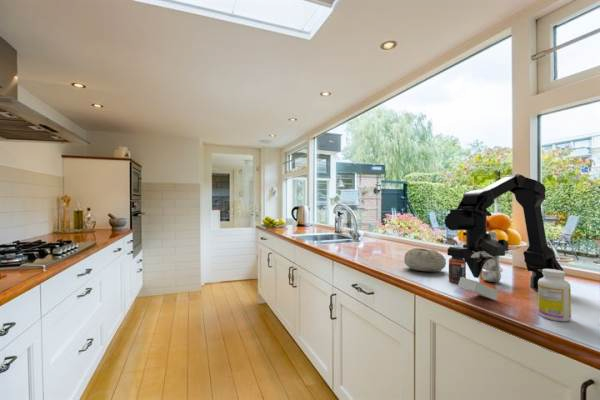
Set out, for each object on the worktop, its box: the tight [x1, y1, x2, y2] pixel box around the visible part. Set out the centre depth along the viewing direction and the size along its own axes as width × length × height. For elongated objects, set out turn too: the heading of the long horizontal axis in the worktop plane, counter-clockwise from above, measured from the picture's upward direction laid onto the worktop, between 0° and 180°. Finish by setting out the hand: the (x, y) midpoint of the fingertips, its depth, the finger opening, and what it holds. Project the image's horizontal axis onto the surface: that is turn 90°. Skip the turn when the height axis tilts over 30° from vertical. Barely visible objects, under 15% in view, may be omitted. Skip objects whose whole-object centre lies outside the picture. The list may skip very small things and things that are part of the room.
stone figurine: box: [481, 230, 502, 283], centre depth 113 cm, size 6×7×20 cm
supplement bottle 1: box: [448, 256, 467, 284], centre depth 112 cm, size 6×6×11 cm
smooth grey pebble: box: [403, 247, 447, 272], centre depth 131 cm, size 18×18×10 cm
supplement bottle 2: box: [537, 269, 572, 322], centre depth 77 cm, size 7×7×13 cm
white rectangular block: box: [457, 277, 499, 301], centre depth 92 cm, size 3×6×10 cm
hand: (476, 277), depth 91 cm, fingers closed
